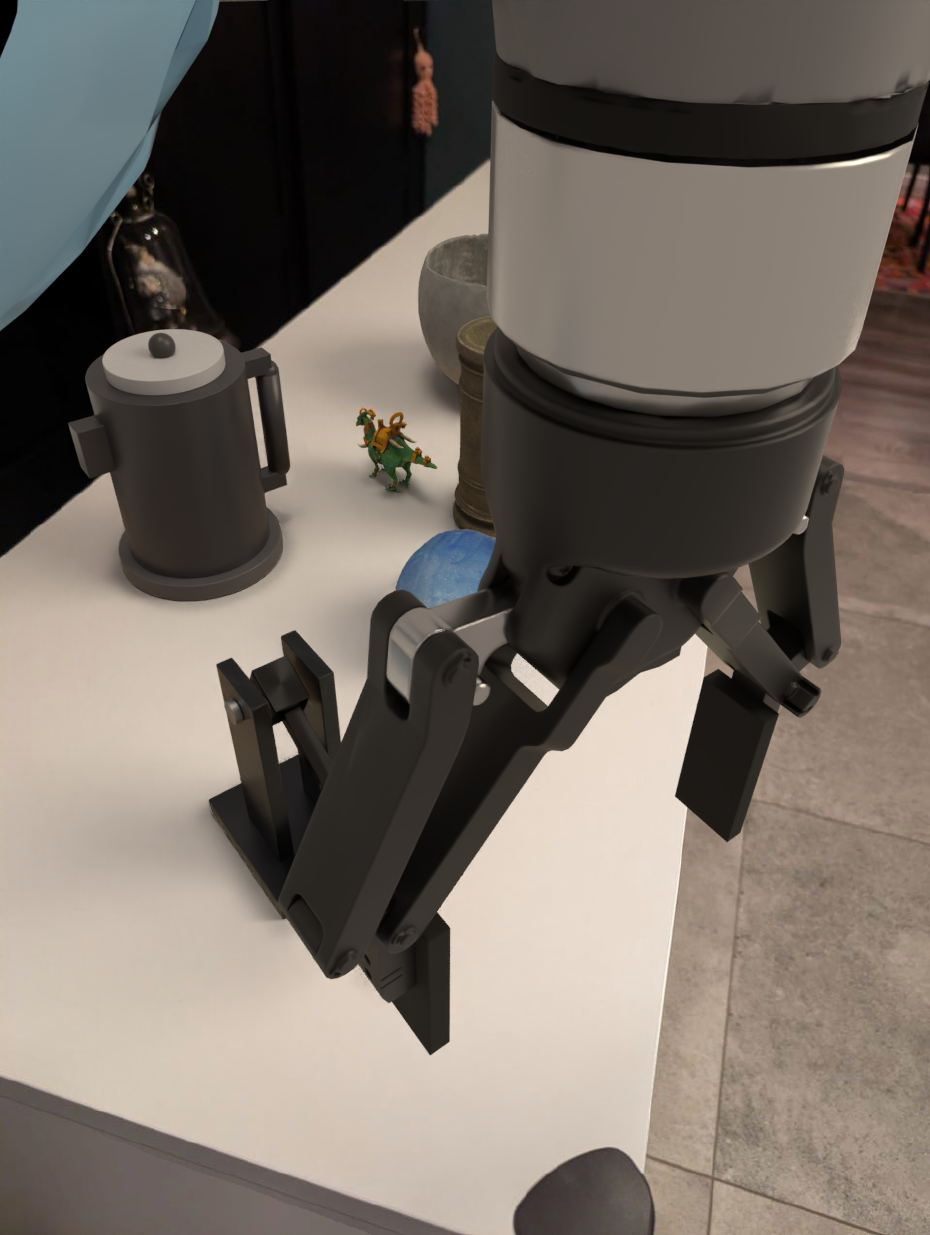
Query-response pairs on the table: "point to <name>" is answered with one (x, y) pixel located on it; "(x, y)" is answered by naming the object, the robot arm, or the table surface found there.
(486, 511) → the container
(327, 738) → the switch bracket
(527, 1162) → the table surface
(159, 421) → the kettle
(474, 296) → the bowl
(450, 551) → the egg
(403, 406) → the table surface
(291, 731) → the switch
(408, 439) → the figurine
